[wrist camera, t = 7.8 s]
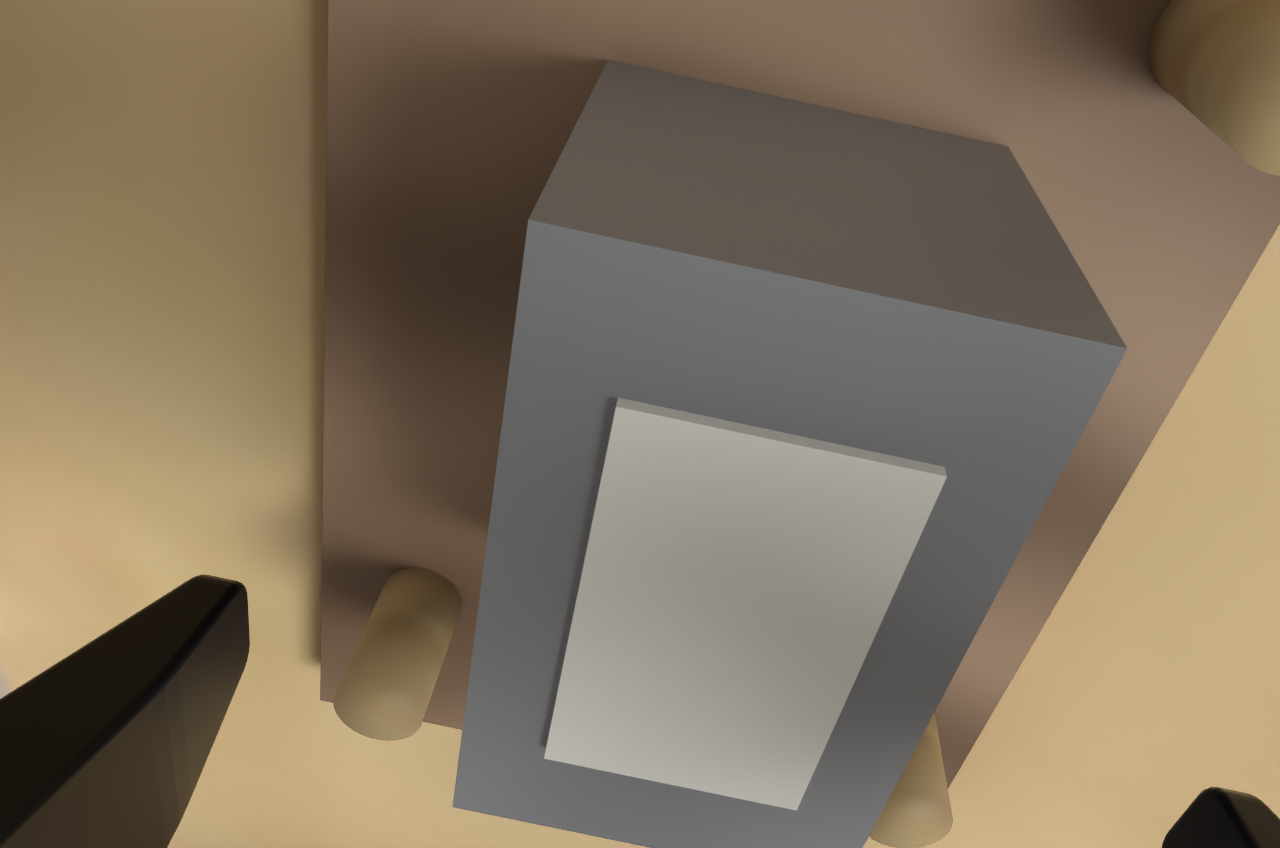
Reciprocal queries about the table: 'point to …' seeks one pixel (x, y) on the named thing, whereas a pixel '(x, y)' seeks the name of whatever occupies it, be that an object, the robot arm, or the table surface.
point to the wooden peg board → (785, 67)
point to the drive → (760, 461)
